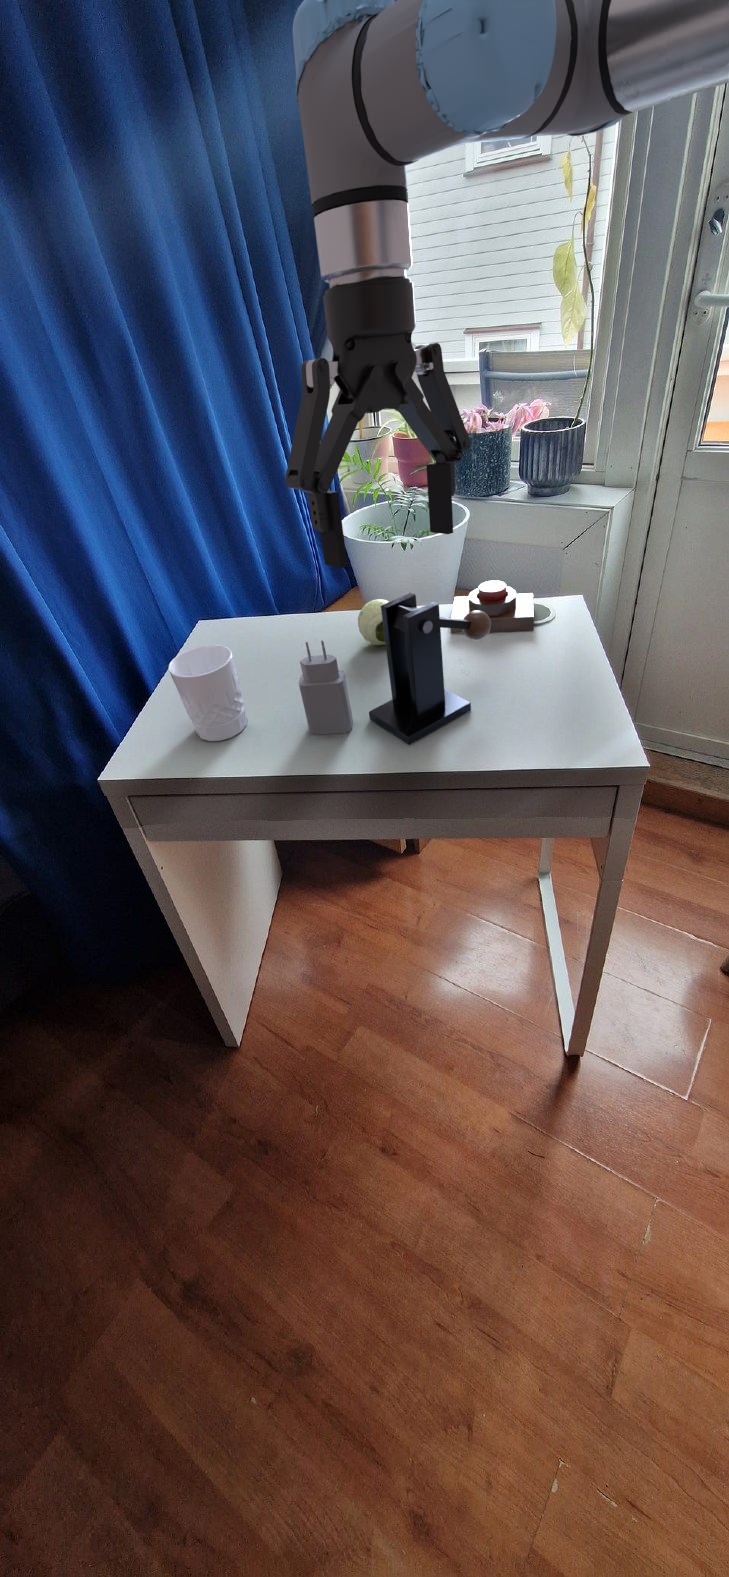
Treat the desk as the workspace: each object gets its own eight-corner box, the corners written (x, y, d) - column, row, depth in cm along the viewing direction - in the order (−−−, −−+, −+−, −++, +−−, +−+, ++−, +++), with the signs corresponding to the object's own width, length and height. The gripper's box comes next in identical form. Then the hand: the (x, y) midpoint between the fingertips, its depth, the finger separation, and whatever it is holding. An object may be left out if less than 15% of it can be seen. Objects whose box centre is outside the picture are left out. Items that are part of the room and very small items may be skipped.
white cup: (257, 708, 88) (238, 642, 82) (243, 743, 82) (222, 674, 76) (202, 712, 90) (179, 646, 83) (185, 746, 84) (159, 678, 77)
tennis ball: (359, 636, 101) (353, 595, 96) (402, 629, 101) (398, 588, 96) (362, 655, 96) (356, 613, 92) (407, 649, 96) (403, 606, 91)
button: (506, 591, 98) (506, 579, 97) (505, 602, 95) (505, 591, 94) (479, 592, 99) (479, 581, 98) (478, 604, 96) (477, 592, 95)
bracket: (429, 687, 87) (420, 580, 77) (471, 710, 81) (467, 598, 72) (369, 719, 83) (352, 610, 73) (409, 745, 77) (396, 631, 68)
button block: (533, 606, 101) (533, 581, 98) (533, 630, 95) (534, 605, 92) (455, 609, 103) (453, 585, 101) (450, 633, 97) (449, 608, 95)
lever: (471, 635, 84) (480, 607, 82) (492, 644, 81) (500, 615, 80) (388, 630, 75) (395, 598, 73) (407, 639, 72) (415, 607, 71)
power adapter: (312, 721, 84) (293, 637, 77) (353, 718, 83) (338, 633, 76) (308, 735, 82) (289, 649, 74) (351, 732, 81) (335, 645, 73)
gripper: (446, 280, 62) (455, 517, 73) (210, 298, 50) (265, 575, 62) (506, 265, 56) (506, 523, 68) (257, 282, 45) (307, 587, 57)
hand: (391, 548), depth 65 cm, fingers open, 13 cm apart
